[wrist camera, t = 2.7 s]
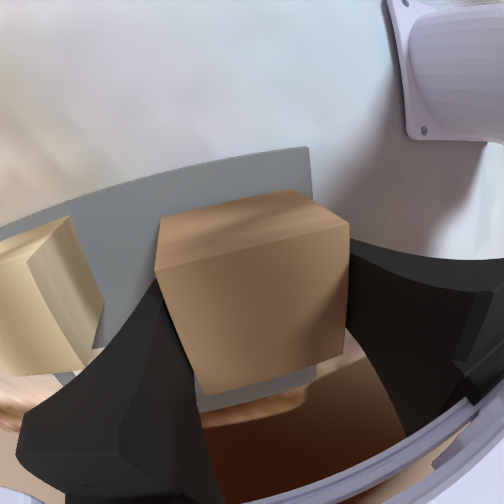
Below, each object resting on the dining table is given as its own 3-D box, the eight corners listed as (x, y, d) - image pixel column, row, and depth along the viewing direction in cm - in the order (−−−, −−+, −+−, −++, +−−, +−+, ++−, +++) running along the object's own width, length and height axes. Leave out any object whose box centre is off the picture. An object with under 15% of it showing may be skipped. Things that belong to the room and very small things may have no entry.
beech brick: (70, 215, 9) (26, 262, 6) (104, 301, 11) (86, 369, 7) (1, 240, 9) (-48, 288, 5) (37, 316, 10) (9, 376, 7)
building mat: (304, 146, 11) (308, 147, 10) (313, 376, 17) (315, 380, 17) (-18, 236, 8) (-22, 239, 8) (99, 422, 15) (99, 426, 14)
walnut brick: (292, 188, 11) (349, 223, 7) (301, 295, 13) (342, 354, 9) (160, 217, 10) (154, 271, 6) (193, 324, 12) (205, 396, 9)
